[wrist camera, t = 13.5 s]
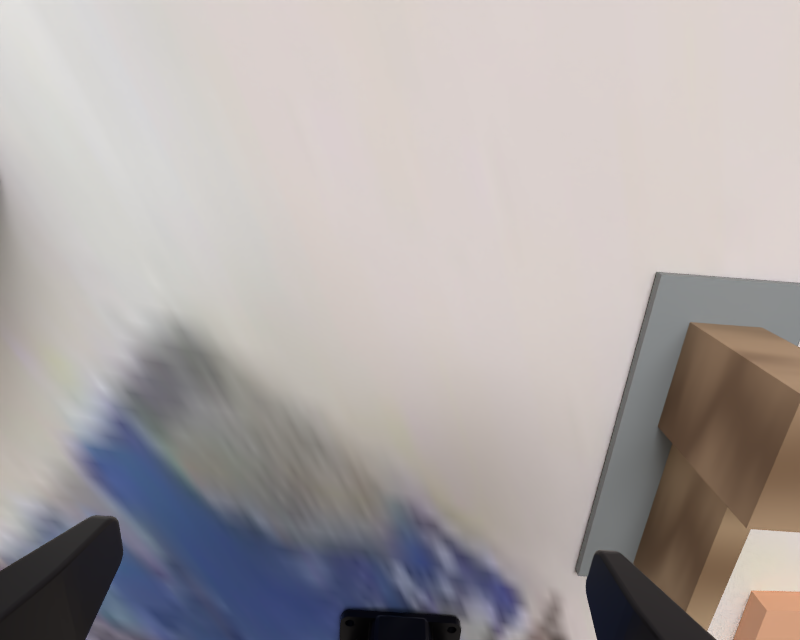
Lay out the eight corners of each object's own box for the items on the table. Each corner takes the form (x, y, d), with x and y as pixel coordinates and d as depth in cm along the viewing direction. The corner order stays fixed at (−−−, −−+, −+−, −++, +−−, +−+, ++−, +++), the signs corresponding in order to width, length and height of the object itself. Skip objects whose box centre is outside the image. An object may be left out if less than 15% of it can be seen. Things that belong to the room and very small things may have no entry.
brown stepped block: (674, 565, 24) (754, 693, 19) (615, 561, 24) (678, 689, 19) (762, 327, 20) (903, 403, 14) (689, 322, 20) (803, 395, 14)
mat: (697, 577, 25) (701, 584, 25) (575, 569, 25) (578, 575, 25) (813, 284, 19) (821, 286, 19) (656, 272, 19) (661, 274, 19)
